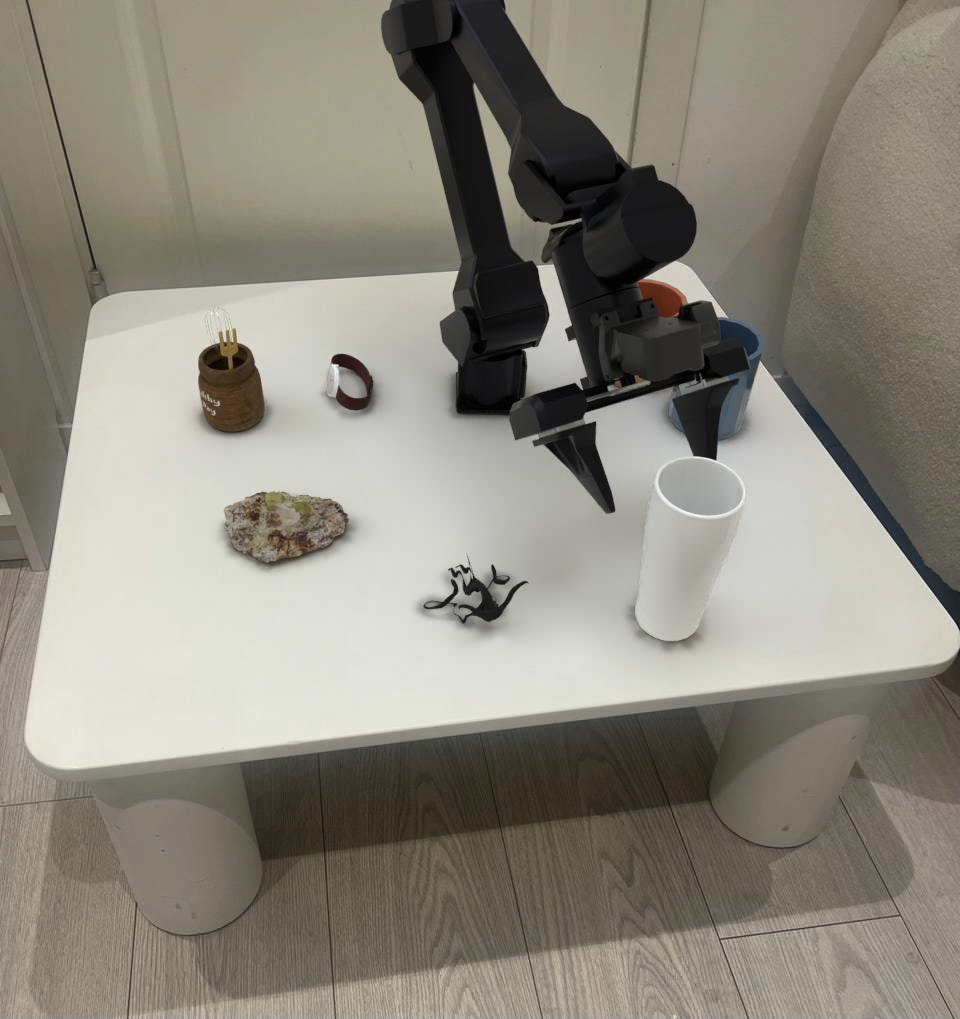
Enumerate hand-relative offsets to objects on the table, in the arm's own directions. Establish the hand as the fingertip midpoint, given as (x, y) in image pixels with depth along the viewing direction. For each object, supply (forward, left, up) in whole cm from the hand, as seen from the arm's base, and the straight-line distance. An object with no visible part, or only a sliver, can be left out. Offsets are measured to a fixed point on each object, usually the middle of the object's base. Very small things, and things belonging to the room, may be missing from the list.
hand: (661, 495), depth 78 cm
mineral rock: (-30, +6, -11) cm, 33 cm away
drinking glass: (+2, -3, -11) cm, 12 cm away
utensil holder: (-37, +22, -11) cm, 45 cm away
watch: (-26, +26, -11) cm, 39 cm away
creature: (-14, -2, -11) cm, 18 cm away
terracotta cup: (+4, +31, -11) cm, 33 cm away
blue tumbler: (+10, +23, -11) cm, 27 cm away
